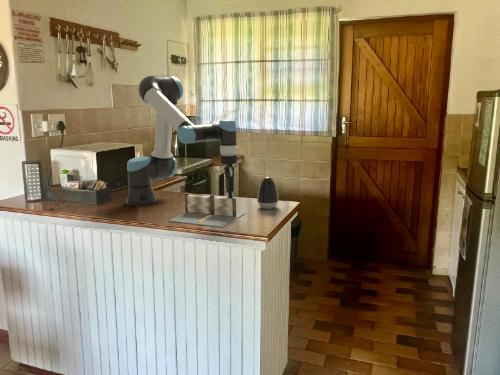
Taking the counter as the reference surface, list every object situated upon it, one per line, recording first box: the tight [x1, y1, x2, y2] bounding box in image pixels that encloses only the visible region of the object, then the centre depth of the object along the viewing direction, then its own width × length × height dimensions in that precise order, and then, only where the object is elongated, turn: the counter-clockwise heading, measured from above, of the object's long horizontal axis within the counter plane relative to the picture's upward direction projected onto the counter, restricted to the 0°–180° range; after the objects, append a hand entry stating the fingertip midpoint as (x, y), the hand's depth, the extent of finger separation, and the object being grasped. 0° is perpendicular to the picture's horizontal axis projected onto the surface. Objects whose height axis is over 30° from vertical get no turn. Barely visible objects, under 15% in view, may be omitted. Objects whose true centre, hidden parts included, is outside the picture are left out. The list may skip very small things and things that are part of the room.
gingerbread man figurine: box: [51, 183, 68, 207], centre depth 215 cm, size 9×4×12 cm, turn 149°
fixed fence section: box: [184, 192, 215, 215], centre depth 198 cm, size 16×3×9 cm, turn 66°
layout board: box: [167, 212, 245, 229], centre depth 193 cm, size 27×22×1 cm
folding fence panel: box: [214, 196, 237, 216], centre depth 193 cm, size 10×2×8 cm, turn 67°
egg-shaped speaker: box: [256, 176, 279, 210], centre depth 206 cm, size 10×10×15 cm
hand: (230, 205), depth 198 cm, fingers closed
